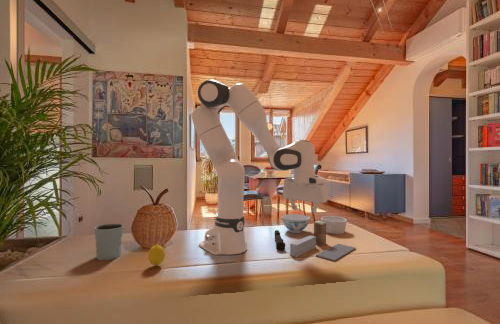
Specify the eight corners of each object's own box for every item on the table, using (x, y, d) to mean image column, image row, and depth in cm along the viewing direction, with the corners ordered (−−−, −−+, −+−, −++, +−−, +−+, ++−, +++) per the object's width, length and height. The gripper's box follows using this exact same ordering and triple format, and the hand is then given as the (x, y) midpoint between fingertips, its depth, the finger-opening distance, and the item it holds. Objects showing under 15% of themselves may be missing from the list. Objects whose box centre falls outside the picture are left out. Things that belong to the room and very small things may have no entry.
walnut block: (313, 243, 126) (314, 222, 126) (318, 241, 129) (318, 220, 129) (321, 245, 124) (321, 223, 124) (326, 243, 127) (326, 222, 126)
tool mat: (315, 256, 110) (315, 254, 110) (338, 244, 125) (338, 243, 125) (334, 261, 105) (334, 260, 105) (355, 249, 119) (355, 247, 119)
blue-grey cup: (88, 258, 107) (88, 227, 106) (110, 250, 116) (110, 222, 116) (107, 262, 103) (107, 230, 103) (128, 253, 112) (128, 224, 112)
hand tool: (285, 251, 116) (285, 240, 116) (276, 251, 117) (276, 240, 116) (281, 238, 135) (282, 229, 135) (273, 238, 135) (273, 229, 135)
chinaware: (290, 236, 138) (290, 221, 138) (276, 229, 152) (276, 215, 152) (315, 233, 143) (315, 218, 143) (300, 226, 157) (300, 213, 157)
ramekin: (351, 234, 143) (351, 220, 142) (328, 235, 140) (329, 222, 139) (337, 227, 155) (338, 215, 155) (316, 229, 152) (316, 216, 152)
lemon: (164, 268, 98) (164, 245, 98) (147, 269, 96) (147, 247, 96) (164, 262, 103) (164, 241, 103) (149, 264, 101) (149, 242, 101)
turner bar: (290, 255, 111) (290, 243, 111) (309, 246, 123) (309, 235, 123) (296, 257, 109) (296, 245, 109) (315, 247, 121) (315, 236, 121)
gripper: (279, 177, 121) (279, 208, 121) (322, 180, 107) (321, 215, 107) (288, 176, 125) (288, 207, 125) (329, 179, 111) (329, 213, 111)
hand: (304, 211), depth 116 cm, fingers open, 8 cm apart
